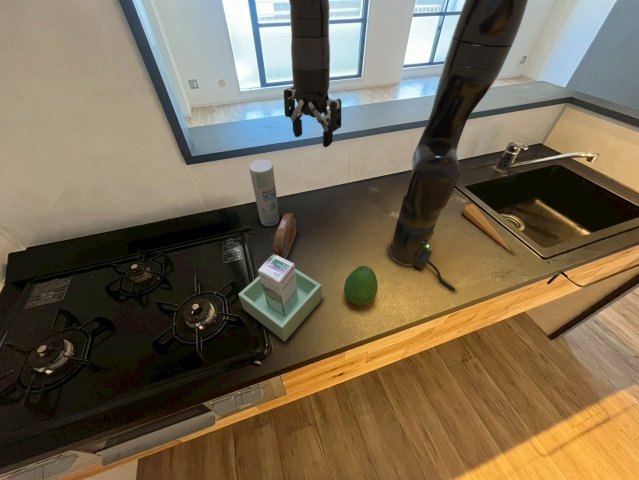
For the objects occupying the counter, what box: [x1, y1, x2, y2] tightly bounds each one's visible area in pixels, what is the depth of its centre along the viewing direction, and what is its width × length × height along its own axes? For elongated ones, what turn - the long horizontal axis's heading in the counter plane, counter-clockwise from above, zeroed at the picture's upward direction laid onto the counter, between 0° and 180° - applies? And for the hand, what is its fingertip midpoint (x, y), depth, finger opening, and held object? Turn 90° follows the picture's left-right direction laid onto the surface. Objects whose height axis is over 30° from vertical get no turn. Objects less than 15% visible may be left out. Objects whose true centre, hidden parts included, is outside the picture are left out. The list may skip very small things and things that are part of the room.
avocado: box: [343, 265, 379, 306], centre depth 66 cm, size 8×8×12 cm
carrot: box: [462, 203, 512, 253], centre depth 87 cm, size 20×4×4 cm, turn 21°
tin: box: [272, 212, 298, 259], centre depth 81 cm, size 15×3×8 cm, turn 168°
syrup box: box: [257, 253, 298, 316], centre depth 64 cm, size 6×6×14 cm
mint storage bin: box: [238, 268, 322, 342], centre depth 67 cm, size 14×14×7 cm
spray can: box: [248, 159, 280, 227], centre depth 84 cm, size 6×6×20 cm
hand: (312, 140), depth 67 cm, fingers open, 8 cm apart
